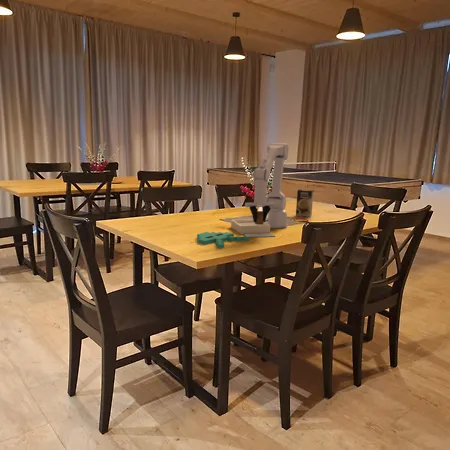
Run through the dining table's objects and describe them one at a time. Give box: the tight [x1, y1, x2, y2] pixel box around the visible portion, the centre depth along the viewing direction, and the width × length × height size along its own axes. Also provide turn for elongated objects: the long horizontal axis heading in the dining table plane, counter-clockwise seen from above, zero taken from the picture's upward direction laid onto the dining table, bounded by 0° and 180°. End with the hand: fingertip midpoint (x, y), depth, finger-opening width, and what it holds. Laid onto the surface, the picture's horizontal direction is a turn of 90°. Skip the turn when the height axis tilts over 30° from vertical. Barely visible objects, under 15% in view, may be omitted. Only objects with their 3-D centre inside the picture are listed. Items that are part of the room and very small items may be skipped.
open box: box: [230, 218, 271, 235], centre depth 210 cm, size 16×16×4 cm
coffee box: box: [295, 188, 315, 218], centre depth 253 cm, size 9×6×16 cm
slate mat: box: [242, 232, 276, 239], centre depth 199 cm, size 14×7×1 cm, turn 106°
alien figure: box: [196, 231, 250, 250], centre depth 187 cm, size 20×2×20 cm
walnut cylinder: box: [255, 210, 263, 224], centre depth 197 cm, size 4×4×6 cm
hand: (259, 221), depth 197 cm, fingers closed on walnut cylinder, 4 cm apart
